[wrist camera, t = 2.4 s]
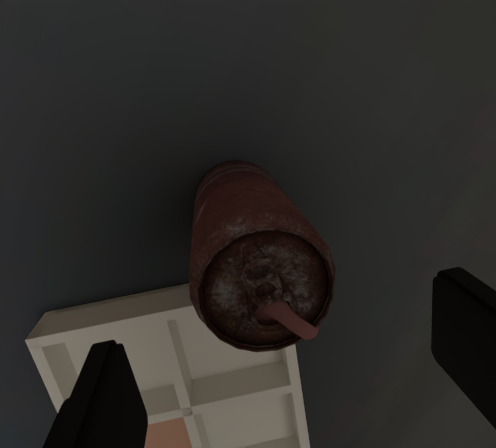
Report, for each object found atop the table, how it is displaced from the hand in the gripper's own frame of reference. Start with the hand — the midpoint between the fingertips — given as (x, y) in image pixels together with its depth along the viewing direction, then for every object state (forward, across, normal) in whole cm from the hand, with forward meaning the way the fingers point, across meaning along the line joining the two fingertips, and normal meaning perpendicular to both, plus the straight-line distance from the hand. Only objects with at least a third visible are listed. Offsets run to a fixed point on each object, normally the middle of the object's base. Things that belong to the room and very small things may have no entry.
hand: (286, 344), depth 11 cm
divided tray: (+17, +7, +16) cm, 24 cm away
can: (+18, 0, +1) cm, 18 cm away
